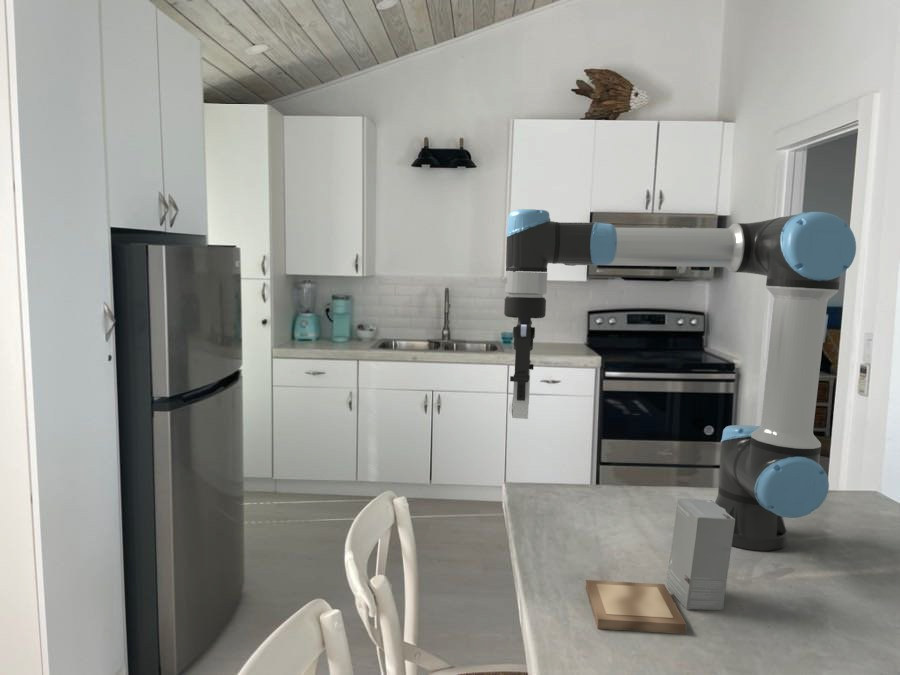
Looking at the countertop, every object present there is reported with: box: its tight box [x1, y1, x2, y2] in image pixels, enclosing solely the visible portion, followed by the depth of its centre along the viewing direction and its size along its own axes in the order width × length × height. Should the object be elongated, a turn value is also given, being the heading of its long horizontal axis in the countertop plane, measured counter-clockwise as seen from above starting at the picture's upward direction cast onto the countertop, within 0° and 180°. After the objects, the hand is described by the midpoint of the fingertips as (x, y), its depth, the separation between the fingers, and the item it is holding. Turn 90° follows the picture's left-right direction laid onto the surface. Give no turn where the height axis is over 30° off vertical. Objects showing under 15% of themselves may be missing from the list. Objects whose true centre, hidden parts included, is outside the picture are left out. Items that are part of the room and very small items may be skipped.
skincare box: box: [666, 498, 735, 611], centre depth 112 cm, size 8×7×16 cm
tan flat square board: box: [585, 579, 687, 635], centre depth 108 cm, size 13×13×2 cm
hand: (521, 410), depth 127 cm, fingers open, 13 cm apart
